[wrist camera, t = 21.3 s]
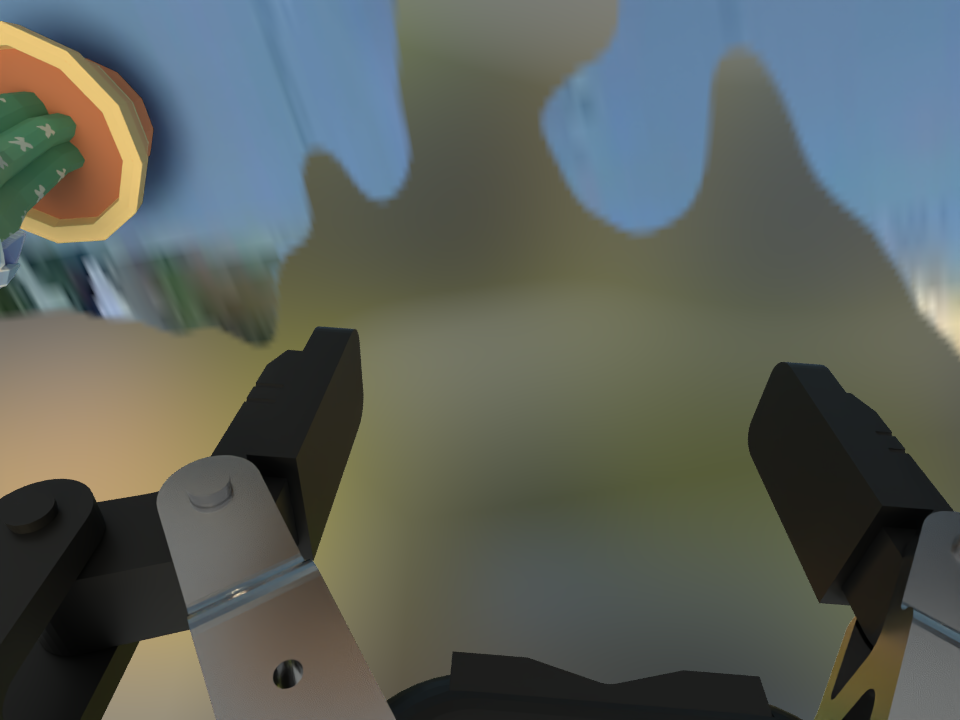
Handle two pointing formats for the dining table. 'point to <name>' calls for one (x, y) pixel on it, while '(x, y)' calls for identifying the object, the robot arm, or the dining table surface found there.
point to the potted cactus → (65, 145)
